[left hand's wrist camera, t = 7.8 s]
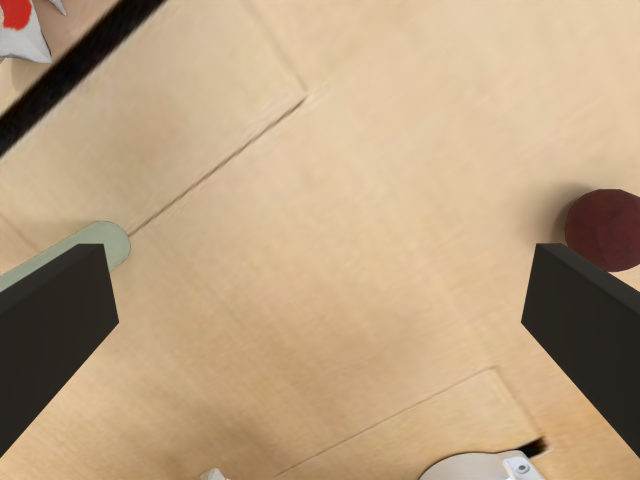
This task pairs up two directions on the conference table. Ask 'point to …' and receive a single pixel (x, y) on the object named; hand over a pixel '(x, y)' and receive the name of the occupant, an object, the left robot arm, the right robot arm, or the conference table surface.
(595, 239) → the dark red ball
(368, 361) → the conference table surface
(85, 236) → the green bottle
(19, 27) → the fish
